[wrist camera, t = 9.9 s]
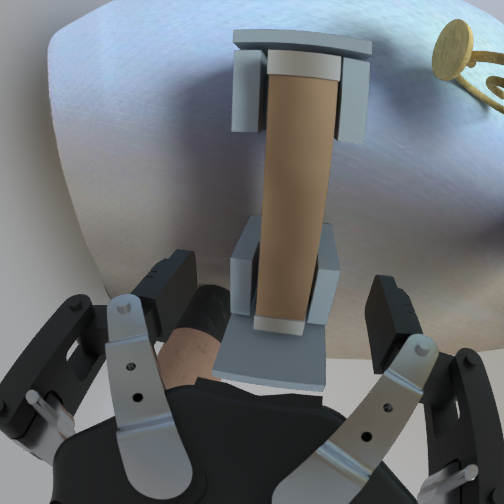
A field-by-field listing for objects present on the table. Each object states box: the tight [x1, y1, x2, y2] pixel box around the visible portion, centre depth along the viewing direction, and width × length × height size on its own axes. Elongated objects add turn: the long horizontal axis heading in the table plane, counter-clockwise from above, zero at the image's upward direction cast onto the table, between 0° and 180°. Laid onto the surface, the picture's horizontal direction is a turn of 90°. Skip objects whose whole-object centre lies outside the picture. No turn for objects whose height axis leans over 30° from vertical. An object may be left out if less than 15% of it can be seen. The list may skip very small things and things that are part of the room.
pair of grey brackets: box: [212, 29, 372, 392], centre depth 21 cm, size 9×25×16 cm, turn 177°
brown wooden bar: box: [253, 50, 341, 336], centre depth 20 cm, size 4×21×6 cm, turn 177°
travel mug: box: [157, 285, 232, 389], centre depth 29 cm, size 8×8×20 cm
